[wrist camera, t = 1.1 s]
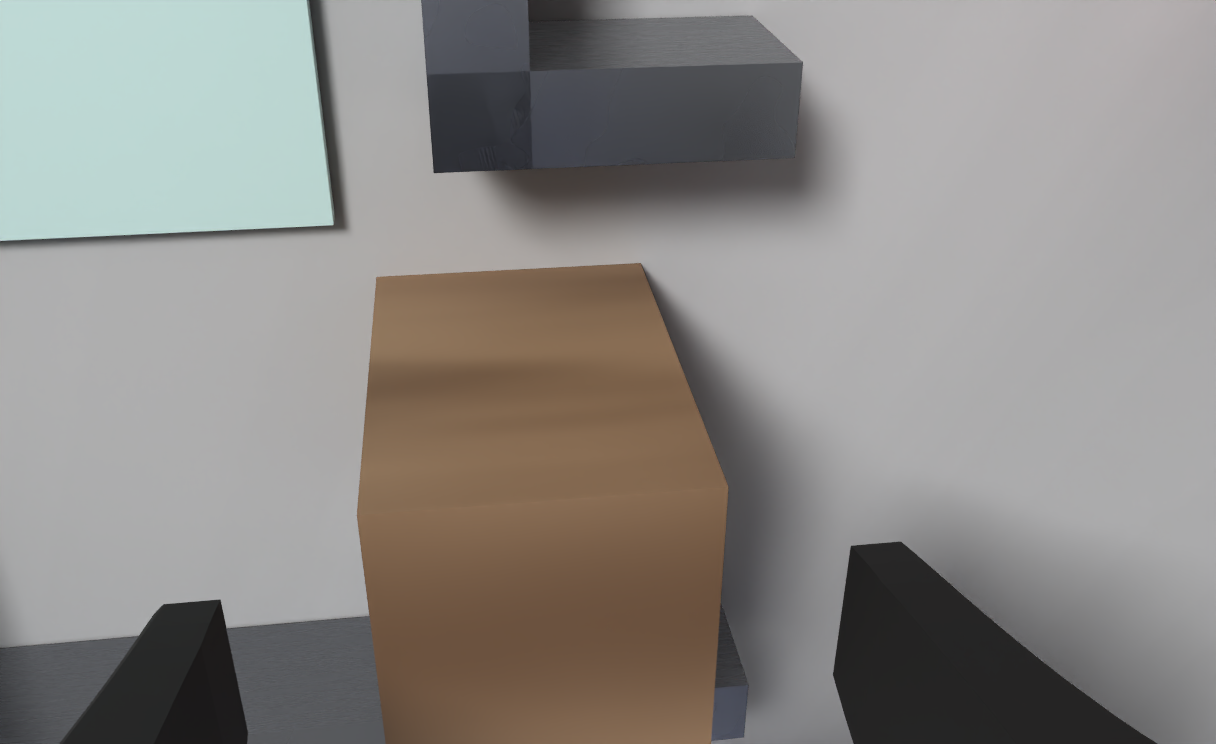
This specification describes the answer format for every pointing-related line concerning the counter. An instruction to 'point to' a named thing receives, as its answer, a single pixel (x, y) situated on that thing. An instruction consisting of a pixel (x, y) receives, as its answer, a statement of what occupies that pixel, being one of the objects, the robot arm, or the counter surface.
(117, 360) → the counter surface
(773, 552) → the counter surface
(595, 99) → the grey flat frame
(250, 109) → the pad
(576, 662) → the walnut block
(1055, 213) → the counter surface
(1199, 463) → the counter surface
